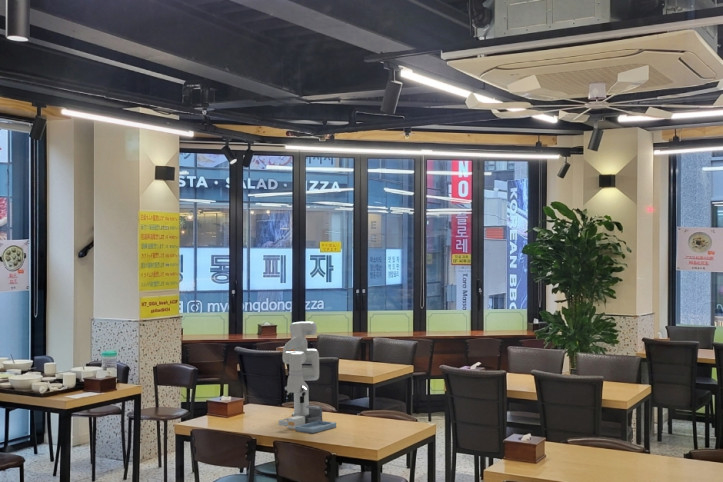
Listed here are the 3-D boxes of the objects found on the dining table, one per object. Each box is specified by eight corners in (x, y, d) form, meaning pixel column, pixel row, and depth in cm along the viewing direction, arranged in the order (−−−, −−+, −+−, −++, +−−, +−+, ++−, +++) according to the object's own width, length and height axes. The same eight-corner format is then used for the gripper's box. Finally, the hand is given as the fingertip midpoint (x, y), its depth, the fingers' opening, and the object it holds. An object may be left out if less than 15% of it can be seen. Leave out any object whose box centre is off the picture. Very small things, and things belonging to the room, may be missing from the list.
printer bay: (310, 421, 500) (310, 404, 501) (322, 422, 495) (322, 406, 495) (297, 424, 491) (297, 408, 491) (309, 426, 485) (309, 409, 485)
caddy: (297, 425, 489) (297, 415, 489) (305, 426, 485) (305, 416, 485) (278, 430, 475) (278, 420, 476) (286, 431, 472) (286, 421, 472)
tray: (319, 424, 490) (319, 420, 490) (336, 427, 482) (336, 422, 482) (295, 430, 473) (295, 426, 473) (313, 433, 465) (313, 429, 465)
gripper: (280, 373, 485) (281, 401, 485) (302, 375, 475) (302, 404, 475) (289, 371, 491) (289, 400, 491) (310, 373, 481) (311, 402, 481)
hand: (296, 402), depth 483 cm, fingers open, 9 cm apart
